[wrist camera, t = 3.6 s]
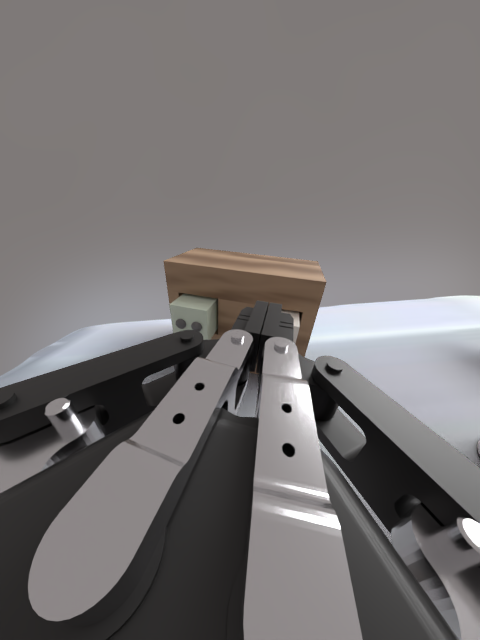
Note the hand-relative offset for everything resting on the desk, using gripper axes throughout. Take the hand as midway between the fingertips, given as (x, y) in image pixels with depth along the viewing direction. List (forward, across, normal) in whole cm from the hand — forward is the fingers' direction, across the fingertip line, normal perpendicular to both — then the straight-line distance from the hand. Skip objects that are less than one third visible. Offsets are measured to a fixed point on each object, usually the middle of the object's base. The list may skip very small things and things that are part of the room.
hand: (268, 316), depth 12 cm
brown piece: (+17, -5, -17) cm, 25 cm away
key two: (+12, -10, -11) cm, 19 cm away
